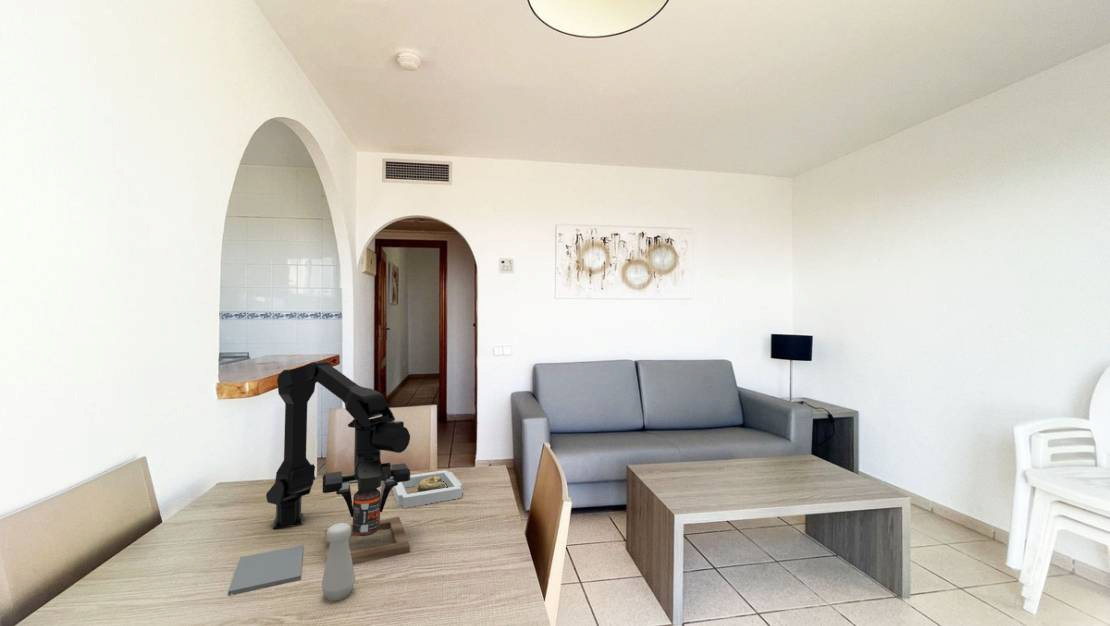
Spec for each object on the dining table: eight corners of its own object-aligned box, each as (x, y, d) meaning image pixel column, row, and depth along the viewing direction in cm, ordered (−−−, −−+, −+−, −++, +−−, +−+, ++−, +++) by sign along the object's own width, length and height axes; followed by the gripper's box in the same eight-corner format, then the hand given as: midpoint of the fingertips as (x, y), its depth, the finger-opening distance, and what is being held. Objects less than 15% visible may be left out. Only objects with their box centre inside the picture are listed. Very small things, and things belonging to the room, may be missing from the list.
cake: (420, 503, 132) (419, 484, 132) (412, 492, 140) (411, 475, 140) (453, 494, 137) (452, 476, 137) (444, 484, 145) (443, 467, 145)
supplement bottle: (370, 538, 102) (370, 488, 103) (346, 536, 104) (347, 486, 104) (385, 527, 108) (385, 479, 108) (362, 524, 109) (363, 477, 110)
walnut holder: (325, 535, 110) (325, 529, 110) (398, 522, 117) (399, 516, 117) (325, 570, 94) (325, 563, 95) (409, 552, 102) (410, 545, 102)
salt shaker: (329, 586, 89) (329, 519, 89) (359, 584, 89) (360, 518, 90) (315, 604, 83) (316, 533, 83) (348, 603, 84) (349, 532, 84)
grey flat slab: (240, 560, 98) (240, 557, 98) (303, 548, 104) (303, 544, 104) (227, 595, 86) (228, 591, 86) (300, 579, 91) (300, 575, 91)
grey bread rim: (390, 487, 142) (391, 477, 142) (449, 478, 150) (449, 469, 150) (399, 509, 125) (399, 498, 125) (464, 497, 134) (464, 487, 134)
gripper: (323, 462, 95) (321, 537, 95) (414, 451, 103) (413, 520, 103) (323, 448, 105) (322, 516, 105) (406, 439, 113) (406, 502, 113)
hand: (366, 514), depth 106 cm, fingers closed on supplement bottle, 6 cm apart
